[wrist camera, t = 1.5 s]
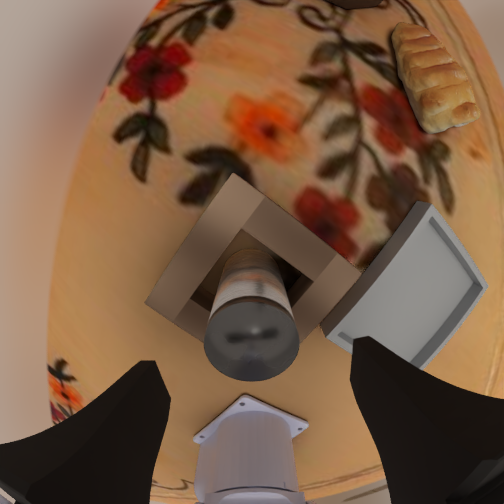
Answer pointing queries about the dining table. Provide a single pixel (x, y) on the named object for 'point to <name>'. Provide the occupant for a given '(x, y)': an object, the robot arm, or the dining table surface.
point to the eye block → (268, 233)
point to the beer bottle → (355, 3)
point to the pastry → (432, 80)
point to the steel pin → (251, 320)
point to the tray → (411, 291)
